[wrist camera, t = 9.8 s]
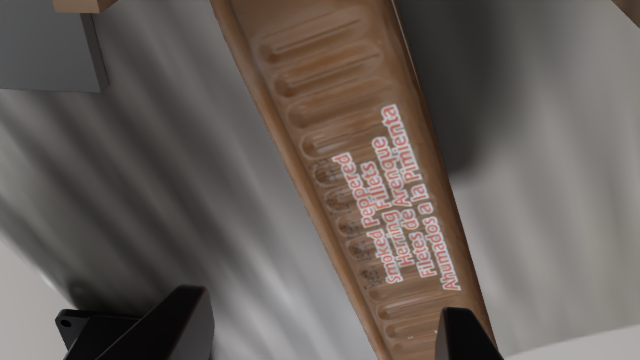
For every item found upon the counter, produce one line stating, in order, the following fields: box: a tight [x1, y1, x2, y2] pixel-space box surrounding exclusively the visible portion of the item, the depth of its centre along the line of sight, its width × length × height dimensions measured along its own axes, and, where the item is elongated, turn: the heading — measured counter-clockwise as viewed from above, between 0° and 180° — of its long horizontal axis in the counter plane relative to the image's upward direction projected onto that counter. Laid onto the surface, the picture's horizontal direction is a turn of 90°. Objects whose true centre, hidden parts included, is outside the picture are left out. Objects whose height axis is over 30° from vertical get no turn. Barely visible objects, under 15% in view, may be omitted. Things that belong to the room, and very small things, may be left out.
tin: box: [210, 0, 498, 360], centre depth 13 cm, size 15×3×8 cm, turn 21°
